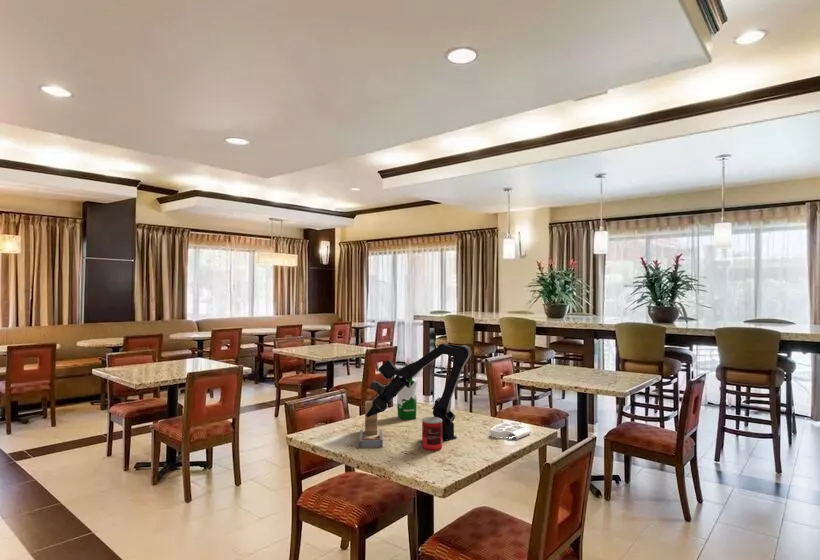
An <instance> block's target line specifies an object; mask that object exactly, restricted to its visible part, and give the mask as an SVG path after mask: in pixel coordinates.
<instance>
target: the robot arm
mask: <svg viewBox="0 0 820 560" xmlns="http://www.w3.org/2000/svg"><path fill="white" fill-rule="evenodd" d="M472 354H473V351H472V349H471V347H470V346H469V345H467V344H461V345H456V344H450V343H445V342H443V343H441V344H439V345H438V346H436V347H435V348H434V349H432V350H431V351H429V352H427V354H425V355H424V356H422V357H420V358H419V359H418V360H416V361H414V362H412V363H409V364H408V365H405V366H403V367H399V368H398V367H396V365H395V364H394V363H393V362H392V360H391V359H388V360H387V361H386V362H384V363H383V364H382V365H380V366H379V368H378V369H377V371H378V372H379V373H380V375H382V377H383V378H384V379H385V380H386V381H387V380H390V382H389V383H386V384H382V383H380V382H378V381H376V380H375V379H374V380H373V379H372V381H371V383H370V385H369V387H368V388H369V389H370V390H371V391H375V392H376V394H375V397H374V399H372V400H371V401H372V402H373V406H372V407H371V409H370V410H369V412H368V413H367V414H366V416H367V417H369V416H372V415H374V414H377V415H378V414H380V413H383V412H385V410H386V409H387V408H388V404H390V402H392V400H393V399H394V398H395V397H397V394H398V393H399V392H400V391H401V390H402V389H403V388H404V387H405V386H406V387H407V388H410V387H411V386H410V383H411V382H410V381H409V382H408V381H407V380H409V379H411V378H413V379H414V378H415V377H416V376H417V375H419V373H421V371H422V370H423V369H424V368H425V367H426V366H428V365H429V364H430V363H432V362H434V361H435V360H436V359H438V358H439V357H441V356H442V355H447V356H451V357H453V363H452V364H453V365H452V367H451V370H450V373H449V376H448V379H447V381H446V383H445V387H444V389H443V391H442V394H441V397H437V398H436V399H435V400H434V405H433V407H432V408H431V410H432V415H433V417H438V418H441V419H442V441H449V440H453V439H458V437H457V435H455V424H454V421H455V419H456V415H455V414H454V413H453V412H452V411H451V408H452V398H453V396H454V393H455V390H456V387H457V385H458V382H459V379H460V377H461V374H462V371H463V368H464V367H465V366H466V364H467V363H468V361H469V359H470V358H471V356H472Z"/></svg>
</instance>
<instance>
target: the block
mask: <svg viewBox="0 0 820 560" xmlns="http://www.w3.org/2000/svg"><path fill="white" fill-rule="evenodd" d="M372 401H373V400H365V402H364V435H378V413H377V414H374V415H372V416H369V417H367V416H366V414H367V413H368V412H369V410H370V409H371V407H372V406H373V402H372Z"/></svg>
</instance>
